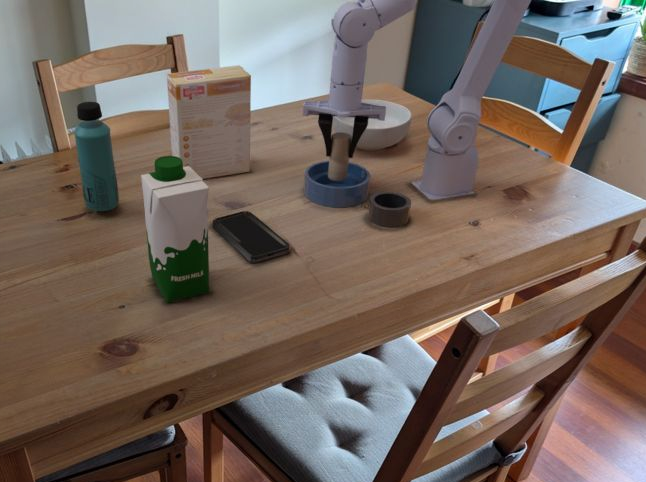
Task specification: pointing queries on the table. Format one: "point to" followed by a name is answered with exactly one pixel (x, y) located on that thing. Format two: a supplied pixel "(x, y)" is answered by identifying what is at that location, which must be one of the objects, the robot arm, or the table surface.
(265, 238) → the phone
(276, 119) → the table surface
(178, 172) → the milk carton
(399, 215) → the mortar
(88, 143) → the beverage bottle
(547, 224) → the table surface
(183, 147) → the coffeecake box
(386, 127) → the cereal bowl
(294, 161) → the table surface
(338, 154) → the pestle
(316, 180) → the bowl
